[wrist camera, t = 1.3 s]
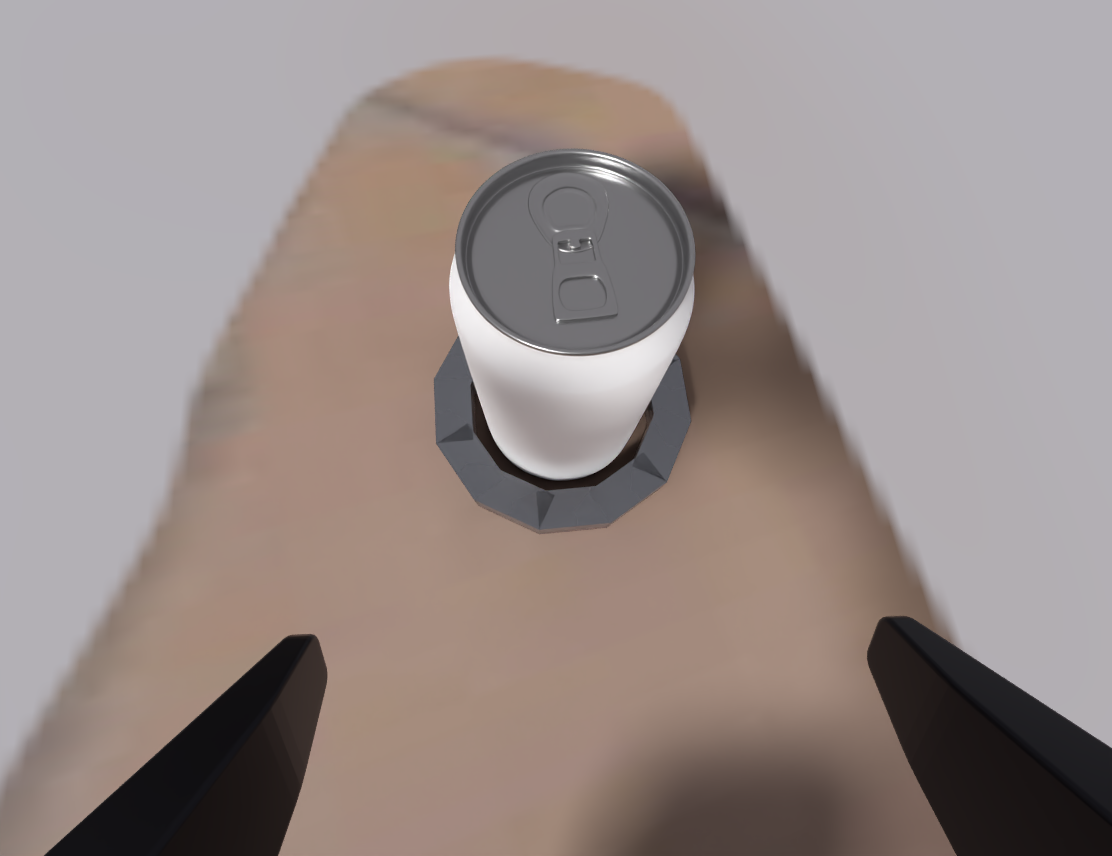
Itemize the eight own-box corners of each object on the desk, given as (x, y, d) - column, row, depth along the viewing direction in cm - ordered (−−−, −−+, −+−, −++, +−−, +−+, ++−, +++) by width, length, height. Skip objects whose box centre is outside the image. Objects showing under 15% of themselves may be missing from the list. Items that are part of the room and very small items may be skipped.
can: (620, 338, 25) (684, 123, 14) (645, 474, 23) (742, 355, 12) (481, 353, 25) (427, 145, 13) (494, 492, 23) (445, 388, 11)
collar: (697, 518, 23) (707, 513, 21) (446, 543, 22) (439, 539, 21) (659, 298, 26) (665, 280, 24) (437, 315, 25) (431, 298, 24)
